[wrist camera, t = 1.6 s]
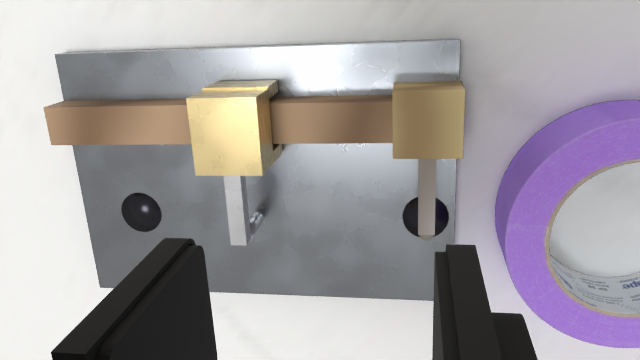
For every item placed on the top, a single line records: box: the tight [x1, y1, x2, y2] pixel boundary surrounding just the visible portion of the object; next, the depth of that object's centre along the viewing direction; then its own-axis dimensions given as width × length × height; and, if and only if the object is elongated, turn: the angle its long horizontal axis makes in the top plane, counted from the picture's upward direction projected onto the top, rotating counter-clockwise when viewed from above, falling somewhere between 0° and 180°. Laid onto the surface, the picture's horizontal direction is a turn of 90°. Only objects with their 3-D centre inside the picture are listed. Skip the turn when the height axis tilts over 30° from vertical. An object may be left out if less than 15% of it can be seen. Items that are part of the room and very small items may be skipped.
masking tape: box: [495, 100, 640, 348], centre depth 27 cm, size 12×12×4 cm
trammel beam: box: [44, 81, 465, 241], centre depth 29 cm, size 21×7×2 cm, turn 93°
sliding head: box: [186, 80, 282, 247], centre depth 28 cm, size 3×8×4 cm, turn 3°
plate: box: [55, 39, 460, 301], centre depth 31 cm, size 21×14×1 cm, turn 93°
